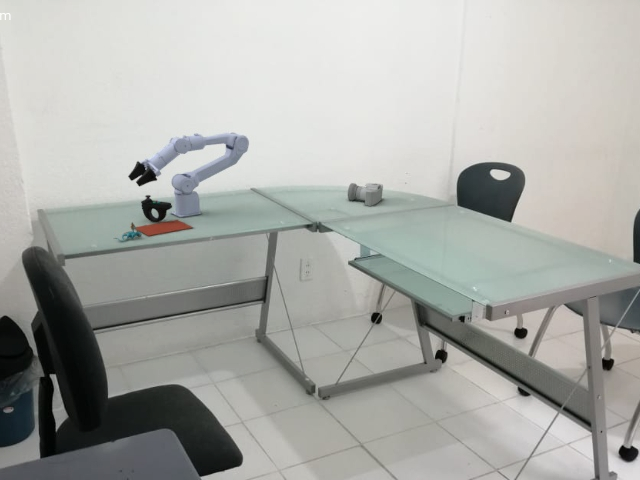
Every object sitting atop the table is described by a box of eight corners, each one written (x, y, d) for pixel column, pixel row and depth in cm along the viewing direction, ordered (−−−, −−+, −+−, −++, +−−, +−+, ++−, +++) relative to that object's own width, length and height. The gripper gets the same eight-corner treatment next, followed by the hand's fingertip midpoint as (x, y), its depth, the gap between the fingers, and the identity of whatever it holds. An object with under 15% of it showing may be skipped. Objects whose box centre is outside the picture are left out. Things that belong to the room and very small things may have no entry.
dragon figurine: (132, 241, 207) (144, 227, 212) (113, 232, 207) (125, 218, 212) (131, 253, 212) (142, 239, 217) (112, 244, 212) (124, 230, 217)
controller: (146, 218, 237) (144, 193, 233) (174, 222, 234) (173, 196, 230) (140, 221, 233) (138, 196, 230) (169, 225, 230) (167, 199, 226)
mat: (177, 220, 236) (177, 219, 235) (192, 228, 227) (192, 227, 227) (134, 228, 225) (134, 227, 225) (148, 236, 217) (148, 235, 216)
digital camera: (359, 203, 281) (362, 181, 279) (386, 207, 273) (389, 185, 271) (341, 202, 268) (344, 179, 266) (369, 206, 260) (373, 182, 258)
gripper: (147, 146, 234) (120, 168, 231) (163, 156, 224) (135, 178, 221) (157, 160, 239) (130, 182, 236) (173, 170, 228) (145, 193, 226)
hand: (133, 181), depth 229 cm, fingers open, 7 cm apart
